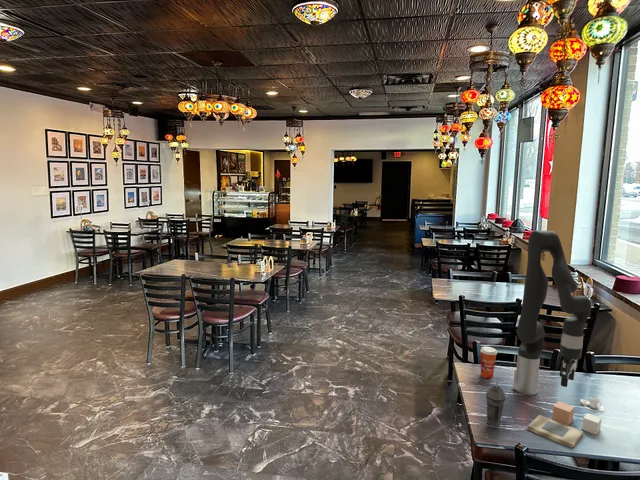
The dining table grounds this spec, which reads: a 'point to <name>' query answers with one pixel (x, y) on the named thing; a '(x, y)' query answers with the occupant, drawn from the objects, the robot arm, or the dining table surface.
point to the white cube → (591, 423)
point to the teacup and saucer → (592, 404)
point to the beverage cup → (494, 404)
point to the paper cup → (487, 361)
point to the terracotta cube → (563, 413)
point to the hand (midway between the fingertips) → (567, 382)
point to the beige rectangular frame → (555, 431)
